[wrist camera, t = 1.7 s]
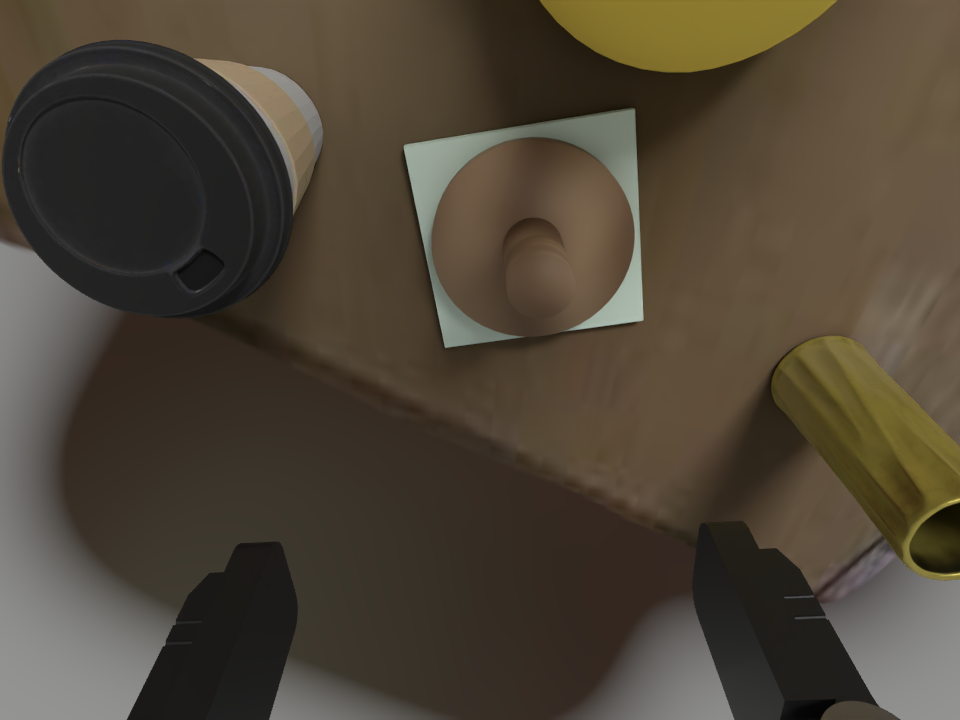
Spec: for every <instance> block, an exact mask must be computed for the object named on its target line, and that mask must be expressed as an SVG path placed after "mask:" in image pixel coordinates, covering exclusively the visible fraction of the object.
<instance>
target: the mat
mask: <svg viewBox="0 0 960 720" xmlns="http://www.w3.org/2000/svg"><path fill="white" fill-rule="evenodd" d="M527 137H545V138H552V139H557V140H562V141H565V142H568V143H571V144H573V145H575V146H577V147H580V148H582V149H584V150H585V151H587V152H588V153H590V154H591V155H593V156H594V157H596V158H597V159H598V160H599V161H600V162H601V163H602V164H603V165H604V166H606V168H607V169H608V170H609V171H610V172H611V174H612V175H613V176H614V177H615V179H616V180H617V181H618V183H619V185H620V186H621V188H622V190H623V191H624V193H625V195H626V197H627V200H628V202H629V205H630V208H631V212H632V215H633V220H634V229H635V241H634V250H633V256H632V260H631V263H630V266H629V269H628V272H627V274H626V276H625V278H624V281H623V282H622V284H621V286H620V287H619V289H618V290H617V292H616V293H615V294H614V296H613V297H612V298H611V300H610V301H609V302H608V303H607V304H606V305H605V306H604V307H603V308H602V309H601V310H600V311H598V312H597V313H596V314H595V315H593V316H592V317H591V318H589V319H588V320H586V321H584V322H583V323H581V324H579V325H577V326H575V327H573V328H571V329H568V330H565V331H571V330H578V329H586V328H593V327H600V326H608V325H615V324H622V323H629V322H637V321H643V300H642V274H641V249H640V224H639V198H638V173H637V148H636V122H635V109H634V108H633V107H632V108H626V109H620V110H614V111H608V112H601V113H595V114H589V115H583V116H577V117H571V118H565V119H559V120H552V121H546V122H540V123H534V124H528V125H522V126H516V127H510V128H504V129H497V130H491V131H485V132H479V133H473V134H467V135H461V136H455V137H448V138H442V139H436V140H430V141H424V142H418V143H412V144H406V145H404V152H405V157H406V162H407V166H408V171H409V176H410V181H411V186H412V191H413V195H414V200H415V205H416V210H417V215H418V220H419V224H420V229H421V234H422V239H423V244H424V249H425V253H426V258H427V263H428V268H429V273H430V278H431V282H432V287H433V292H434V297H435V302H436V307H437V311H438V316H439V321H440V326H441V331H442V336H443V340H444V345H445V348H448V347H455V346H462V345H469V344H477V343H484V342H491V341H499V340H506V339H513V338H520V336H513V335H507V334H503V333H500V332H496V331H493V330H491V329H489V328H486V327H484V326H482V325H480V324H479V323H477V322H475V321H473V320H472V319H471V318H469V317H468V316H467V315H465V314H464V313H463V312H462V311H461V310H460V309H459V308H458V307H457V306H456V305H455V304H454V303H453V301H452V300H451V299H450V298H449V296H448V295H447V293H446V292H445V290H444V288H443V287H442V285H441V283H440V280H439V278H438V276H437V273H436V270H435V266H434V263H433V256H432V249H431V245H432V229H433V223H434V218H435V214H436V211H437V207H438V204H439V202H440V199H441V197H442V195H443V192H444V191H445V189H446V187H447V186H448V184H449V182H450V181H451V180H452V178H453V177H454V176H455V175H456V173H457V172H458V171H459V170H460V169H461V168H462V167H463V166H464V165H465V164H466V163H467V162H468V161H469V160H471V159H472V158H474V157H475V156H476V155H478V154H479V153H481V152H483V151H484V150H486V149H488V148H490V147H492V146H494V145H497V144H500V143H502V142H505V141H509V140H513V139H518V138H527ZM562 332H564V331H562Z"/></svg>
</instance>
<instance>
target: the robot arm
mask: <svg viewBox="0 0 960 720" xmlns="http://www.w3.org/2000/svg"><path fill="white" fill-rule="evenodd" d="M692 590H693V599H694V605H695V609H696V613H697V616H698V619H699V621H700V624H701V627H702V630H703V632H704V636H705V638H706V641H707V644H708V646H709V649H710V652H711V655H712V658H713V660H714V663H715V666H716V669H717V672H718V675H719V677H720V680H721V683H722V686H723V689H724V691H725V694H726V697H727V700H728V702H729V705H730V708H731V711H732V713H733V717H734V719H735V720H900V719H899V718H897V717H896V716H894V715H893V714H892V713H890V712H888V711H886V710H884V709H882V708H880V707H879V706H878V704H877V703H876V702H875V700H874V698H873V697H872V695H871V694H870V692H869V690H868V688H867V687H866V685H865V683H864V681H863V680H862V678H861V676H860V675H859V673H858V671H857V670H856V667H855V665H854V664H853V662H852V660H851V659H850V657H849V655H848V653H847V651H846V650H845V648H844V646H843V644H842V643H841V641H840V639H839V637H838V636H837V634H836V632H835V630H834V628H833V627H832V625H831V623H830V622H829V620H827V619H826V617H825V613H824V611H823V609H822V608H821V606H820V604H819V602H818V600H817V599H815V598H814V593H813V592H812V590H811V588H810V586H809V585H808V583H807V581H806V579H805V577H804V576H803V574H802V572H801V570H800V569H799V568H798V567H797V566H796V565H794V564H793V563H792V562H791V561H790V560H789V559H788V558H787V557H785V556H784V555H783V554H782V553H781V552H780V551H779V550H778V549H776V548H771V549H759V548H758V546H757V544H756V542H755V540H754V538H753V536H752V534H751V532H750V530H749V528H748V527H747V525H746V524H745V523H744V522H743V521H731V522H710V523H702V524H701V525H700V528H699V533H698V540H697V548H696V556H695V564H694V571H693V579H692ZM297 607H298V605H297V597H296V593H295V589H294V585H293V582H292V578H291V575H290V571H289V568H288V564H287V560H286V558H285V553H284V550H283V547H282V545H281V543H279V542H261V543H240V544H238V545H237V546H236V548H235V549H234V551H233V553H232V556H231V558H230V560H229V562H228V564H227V567H226V569H225V571H224V572H221V573H209V574H208V575H207V576H206V577H205V578H204V579H203V580H202V582H201V583H200V584H199V585H198V586H197V587H196V588H195V589H194V590H193V591H192V592H191V593H190V594H189V595H188V597H187V599H186V601H185V603H184V605H183V607H182V609H181V611H180V613H179V615H178V617H177V619H176V625H173V627H172V629H171V631H170V633H169V635H168V637H167V639H166V645H165V646H163V647H162V649H161V652H160V654H159V656H158V658H157V660H156V662H155V664H154V666H153V668H152V670H151V672H150V674H149V676H148V678H147V680H146V682H145V684H144V686H143V688H142V690H141V692H140V694H139V696H138V698H137V700H136V702H135V704H134V706H133V708H132V710H131V712H130V715H129V717H128V719H127V720H269V718H270V714H271V711H272V708H273V704H274V701H275V697H276V694H277V691H278V687H279V683H280V680H281V677H282V674H283V670H284V667H285V663H286V660H287V656H288V653H289V650H290V646H291V643H292V639H293V636H294V633H295V629H296V624H297V614H298V608H297Z"/></svg>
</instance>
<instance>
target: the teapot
mask: <svg viewBox="0 0 960 720" xmlns="http://www.w3.org/2000/svg"><path fill="white" fill-rule="evenodd" d="M539 1H540V2H541V4H542V5H543V6H544V7H545V8H546V9H547V11H548V12H549V13H550V14H551V15H552V17H553V18H554V19H555V20H556V21H557V22H558V23H559V24H560V25H561V26H562V27H563V28H564V29H566V30H567V31H568V32H569V33H570V34H571V35H572V36H573V37H574V38H576V39H577V40H579V41H580V42H582V43H583V44H585V45H586V46H588V47H589V48H591V49H592V50H594V51H595V52H597V53H599V54H601V55H603V56H605V57H608V58H610V59H612V60H614V61H616V62H619V63H622V64H626V65H629V66H633V67H636V68H640V69H645V70H652V71H659V72H695V71H702V70H708V69H714V68H717V67H721V66H724V65H728V64H732V63H735V62H738V61H741V60H744V59H747V58H749V57H751V56H754V55H756V54H758V53H761V52H763V51H765V50H767V49H769V48H771V47H773V46H774V45H776V44H778V43H780V42H781V41H783V40H785V39H787V38H788V37H790V36H792V35H794V34H795V33H797V32H799V31H800V30H801V29H803V28H804V27H805V26H807V25H808V24H809V23H811V22H812V21H814V20H815V19H816V18H818V17H819V16H820V15H822V14H823V13H824V12H825V11H826V10H827V9H828V8H829V7H831V6H832V5H833V4H834V3H835V2H836V1H837V0H539Z"/></svg>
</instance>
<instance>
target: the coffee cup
mask: <svg viewBox="0 0 960 720" xmlns="http://www.w3.org/2000/svg"><path fill="white" fill-rule="evenodd" d="M322 143H323V129H322V122H321V120H320V117H319V114H318V111H317V110H316V108H315V106H314V104H313V103H312V101H311V100H310V98H309V97H308V96H307V94H306V93H305V92H304V91H303V90H302V89H301V88H300V87H299V86H298V85H297V84H296V83H295V82H294V81H292V80H291V79H289V78H288V77H286V76H285V75H283V74H281V73H279V72H277V71H274V70H272V69H267V68H263V67H252V66H246V65H243V64H239V63H234V62H230V61H220V60H207V59H193V58H191V57H189V56H187V55H185V54H183V53H180V52H178V51H175V50H173V49H170V48H167V47H163V46H160V45H157V44H152V43H147V42H141V41H133V40H110V41H101V42H96V43H90V44H87V45H84V46H81V47H78V48H76V49H73V50H71V51H69V52H67V53H65V54H63V55H62V56H60V57H58V58H57V59H55V60H54V61H52V62H50V63H48V64H47V65H46V66H44V67H43V68H42V69H40V70H39V71H38V72H37V73H36V74H35V75H34V76H33V77H32V78H31V79H30V80H29V81H28V82H27V84H26V85H25V86H24V87H23V89H22V90H21V92H20V94H19V95H18V97H17V99H16V101H15V103H14V105H13V107H12V110H11V113H10V116H9V119H8V123H7V128H6V134H5V142H4V147H3V155H2V175H3V183H4V188H5V193H6V197H7V200H8V203H9V206H10V209H11V211H12V214H13V216H14V218H15V220H16V223H17V225H18V227H19V228H20V230H21V232H22V234H23V235H24V237H25V238H26V240H27V241H28V243H29V244H30V246H31V247H32V248H33V250H34V251H35V252H36V253H37V255H38V256H39V257H40V258H41V259H42V260H43V261H44V263H45V264H46V265H47V266H48V267H49V268H50V269H51V270H52V271H53V272H55V273H56V274H57V275H58V276H59V277H60V278H62V279H63V280H64V281H66V282H67V283H68V284H69V285H71V286H72V287H74V288H75V289H77V290H78V291H80V292H81V293H83V294H85V295H86V296H88V297H90V298H92V299H94V300H96V301H98V302H100V303H102V304H105V305H107V306H110V307H112V308H116V309H119V310H122V311H126V312H130V313H135V314H140V315H150V316H156V317H164V318H193V317H199V316H205V315H209V314H213V313H216V312H219V311H221V310H224V309H226V308H228V307H230V306H232V305H234V304H236V303H237V302H239V301H241V300H243V299H245V298H246V297H248V296H250V295H251V294H252V293H254V292H255V291H256V290H258V289H259V288H260V287H261V286H262V285H263V284H264V283H265V282H266V281H267V280H268V279H269V278H270V276H271V275H272V274H273V272H274V271H275V270H276V268H277V267H278V265H279V263H280V261H281V260H282V258H283V255H284V253H285V251H286V248H287V245H288V242H289V239H290V234H291V229H292V221H293V215H294V213H295V211H296V209H297V207H298V205H299V203H300V201H301V199H302V197H303V195H304V193H305V191H306V189H307V187H308V185H309V183H310V180H311V176H312V173H313V170H314V165H315V163H316V161H317V159H318V157H319V154H320V151H321V148H322Z"/></svg>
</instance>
